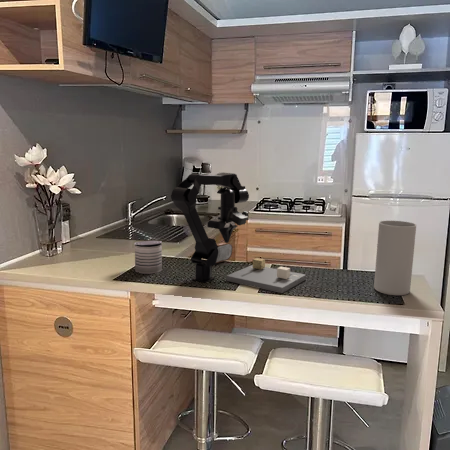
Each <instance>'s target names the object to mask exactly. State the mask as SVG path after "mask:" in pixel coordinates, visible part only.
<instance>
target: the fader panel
mask: <svg viewBox="0 0 450 450" xmlns="http://www.w3.org/2000/svg"><path fill="white" fill-rule="evenodd" d="M306 278H307V274H304V273H300V272H299V273H298V272H294V271H290V277H289V278H287V279H284V278H279V277H277V268H272V267H268V266H265V268H263V269H256V268H253V264H251V265H249V266H246V267H244V268H242V269H239V270H236V271H234V272H232V273H230V274H226V281H227V282H231V283H234V284H235V283H236V284H239V285H243V286H249V287H253V288H256V289H257V288H258V289H262V290H265V291H272V292H276V293H280V294H283V293H285V292H287V291H289V290H290V289H292V288H294V287H295V286H297V285H299V284H301V283H303V282H305V281H306V280H307V279H306Z"/></svg>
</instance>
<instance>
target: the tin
mask: <svg viewBox="0 0 450 450" xmlns="http://www.w3.org/2000/svg"><path fill="white" fill-rule="evenodd" d="M216 244H217V246H218V257H217V261H216V264H219V263H222V262H223V263H224V262H226V261H228V260H230V258H231V257H232V255H233V245H232V244H231V243H230V242H228V243H225V241H221V242H218V243H217V242H216Z"/></svg>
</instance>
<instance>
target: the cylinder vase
mask: <svg viewBox="0 0 450 450" xmlns="http://www.w3.org/2000/svg"><path fill="white" fill-rule="evenodd" d="M377 231H378V232H377V244H376V254H375V255H376V257H375V258H376V259H375V271H374V281H373V282H374V283H373V288H374V289H375V291H376V292H378V293H380V294H384V295H389V296H405V295H408V294H409V293H411V285H412V284H411V283H412V275H413V265H414V264H413V263H414V253H415V245H416V244H415V243H416V232H417V224H416V223H414V222H409V221H402V220H381V221H379V222H378V230H377Z"/></svg>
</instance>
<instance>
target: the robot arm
mask: <svg viewBox="0 0 450 450" xmlns="http://www.w3.org/2000/svg"><path fill="white" fill-rule="evenodd" d="M202 185H205V186H206V185H207V186H208V185H213V186H218V187H220V189H218V190H217V191H216V193H217V195H218V194H220V204H219V205H220V206H218V207H217V210H219V212H220V214H219V216H218V217H217V219H216V218H215V219H209V220H208V221H207V222H206V225H207V228H209V229H210V228H211V229H216V230H218V231H219V232H220V235H221V236H222V238H223V240H224V241H223V242H225V243H230V239H231V237H232V233H233V231H234V230H235V229H236V228H238V226H242V225H246V224H247V221H249V219H250V218H249V212H248V211H246V210H245V211H242V212H241V211H238V207H237V206H235V205H236V204H241V203H246V202H248V200H249V198H250V194H249V192H248V190H247V189H246V186H245V185H242V184H241V182H240V179H239V178H238V175H237V174H236V173H231V172H219V173H217V174H200V173H190V174H189V175H188V176H187V177H186V178H185V179H183V180H182V181H181V182H179V183H178V184H177V186H176V187H174V188H173V190H172V191H171V195H170V198H171V201H172V203H173V204H174V205H175V207H176V208H178V209H179V210H180V211H181V213H182V214H183V217H184V219H185V221H186V224H187V225H188V228H189V229H190V232H191V234H192V236H193V239H194V241H195V244H194V252H193V254H192V255H191V257H190V261H191V263H192V264H195V265H194V266H195V271H194V273H195V274H194V275H195V276H194V277H193V278H191V279H192V281H197V282H201V283H207V282H210V281H212V280H215V278H216V277H214V276H213V275H212V273H213V266H216V264H217V263H216V261H217V257H218V246H217V240H216V239H215V238H210V237H209V236H208V234H207V232H206V230H205V227H204V225H203V222H202V219H201V217H200V216H199V213H198V210H197V202H198V200H197V197H198V196H199V194H200V191H201V186H202Z"/></svg>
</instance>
